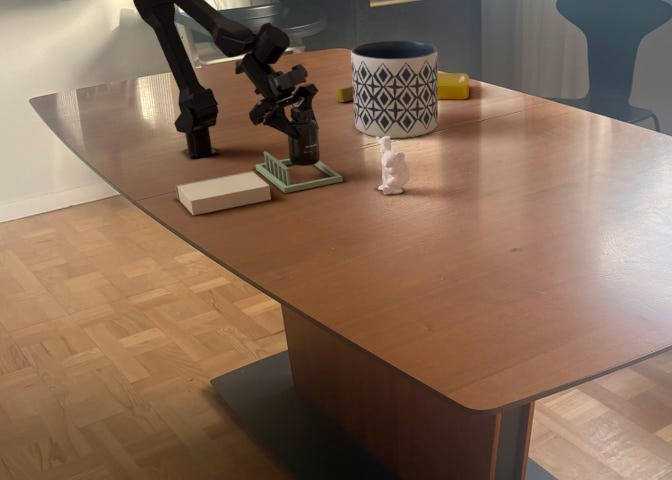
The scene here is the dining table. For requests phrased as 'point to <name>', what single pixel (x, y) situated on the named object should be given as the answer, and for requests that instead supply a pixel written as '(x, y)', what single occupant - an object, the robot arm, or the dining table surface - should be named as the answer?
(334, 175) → the dish rack
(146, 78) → the dining table surface
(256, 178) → the cream bevelled block
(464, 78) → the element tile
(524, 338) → the dining table surface
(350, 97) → the medication box
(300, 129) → the supplement bottle
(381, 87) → the planter
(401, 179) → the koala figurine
